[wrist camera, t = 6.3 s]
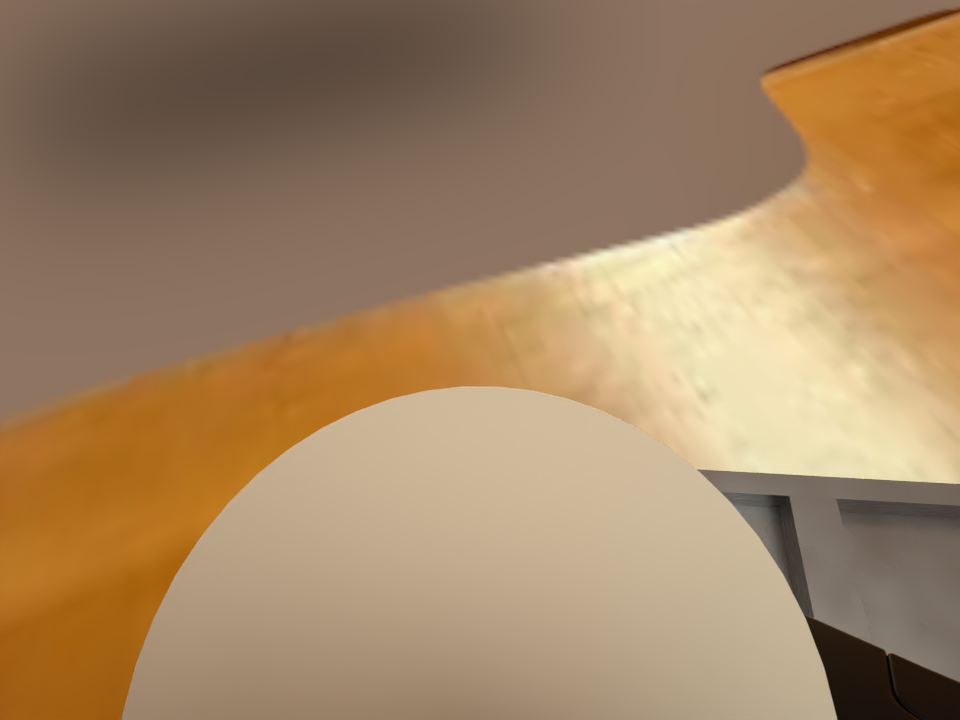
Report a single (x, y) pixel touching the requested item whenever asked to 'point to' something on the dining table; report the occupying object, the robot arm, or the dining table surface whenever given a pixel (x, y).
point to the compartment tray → (864, 555)
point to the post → (479, 580)
